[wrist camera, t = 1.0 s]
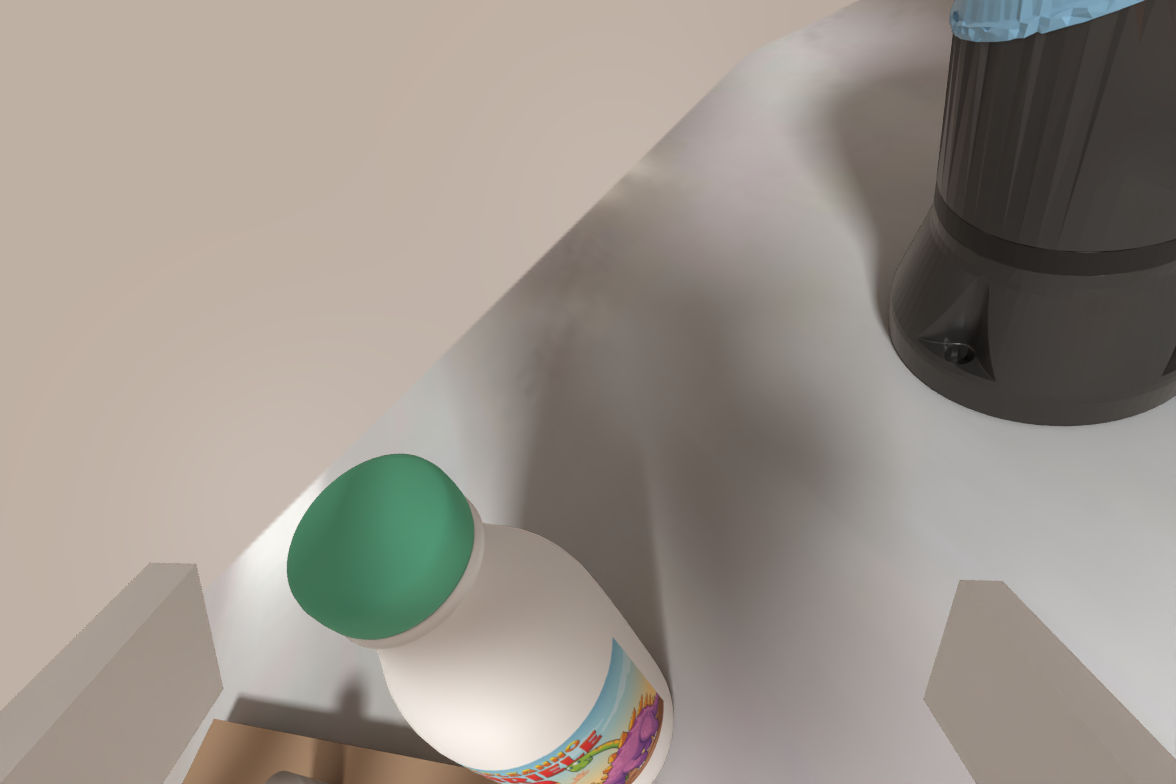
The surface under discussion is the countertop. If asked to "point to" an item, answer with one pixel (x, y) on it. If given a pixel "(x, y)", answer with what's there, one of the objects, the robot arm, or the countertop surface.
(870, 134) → the countertop surface
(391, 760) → the peg board
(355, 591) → the milk bottle
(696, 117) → the countertop surface
